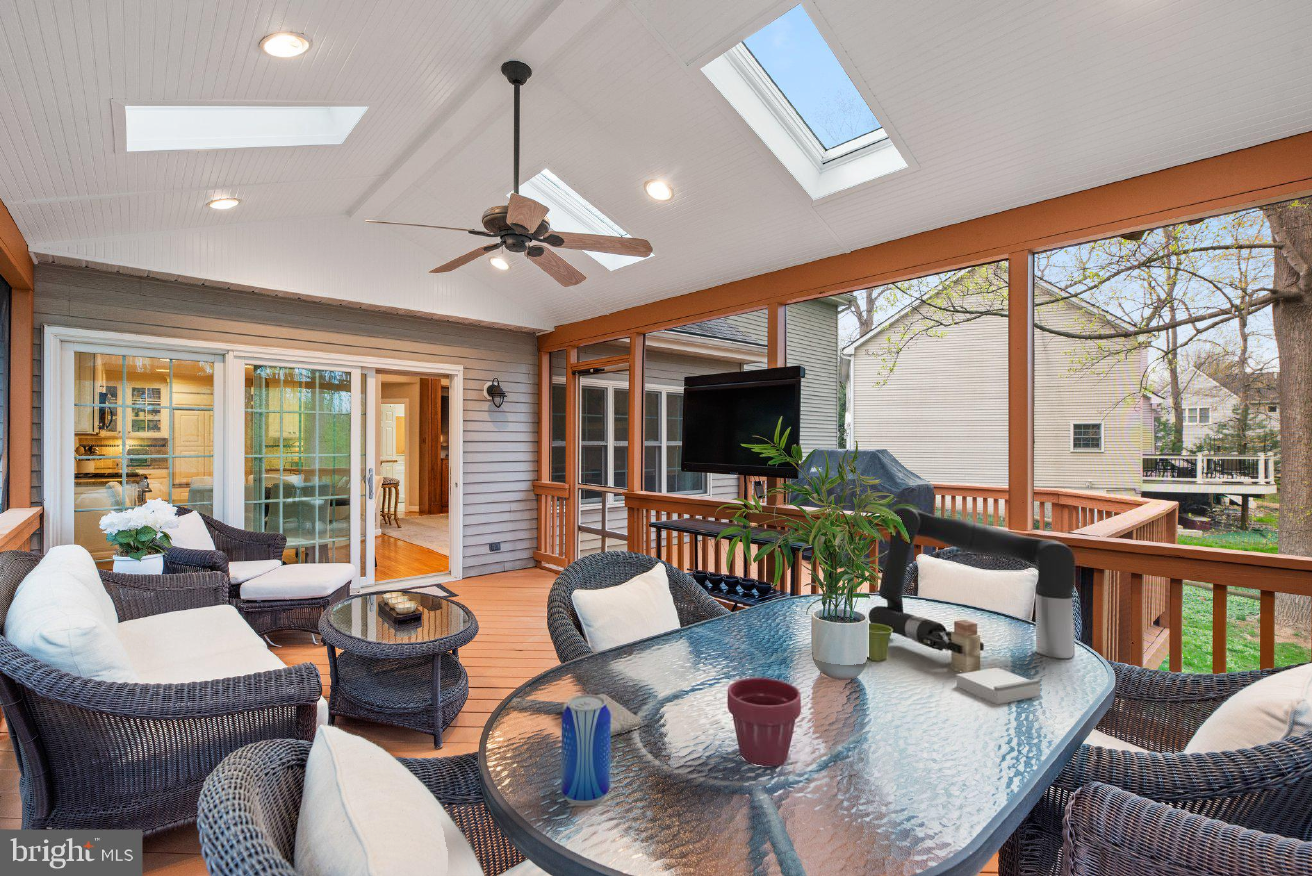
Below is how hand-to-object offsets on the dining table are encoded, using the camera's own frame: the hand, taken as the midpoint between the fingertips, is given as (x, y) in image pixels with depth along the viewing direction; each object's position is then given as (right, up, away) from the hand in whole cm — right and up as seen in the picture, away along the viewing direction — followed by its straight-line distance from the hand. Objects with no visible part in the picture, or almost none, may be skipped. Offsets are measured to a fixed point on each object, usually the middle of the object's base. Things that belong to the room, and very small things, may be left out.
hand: (972, 648), depth 169 cm
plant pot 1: (-64, -5, -47) cm, 80 cm away
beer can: (-98, -5, -61) cm, 115 cm away
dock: (0, -6, -13) cm, 14 cm away
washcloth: (-98, -6, -31) cm, 103 cm away
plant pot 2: (-22, -7, +12) cm, 26 cm away
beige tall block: (-1, -7, +2) cm, 7 cm away
